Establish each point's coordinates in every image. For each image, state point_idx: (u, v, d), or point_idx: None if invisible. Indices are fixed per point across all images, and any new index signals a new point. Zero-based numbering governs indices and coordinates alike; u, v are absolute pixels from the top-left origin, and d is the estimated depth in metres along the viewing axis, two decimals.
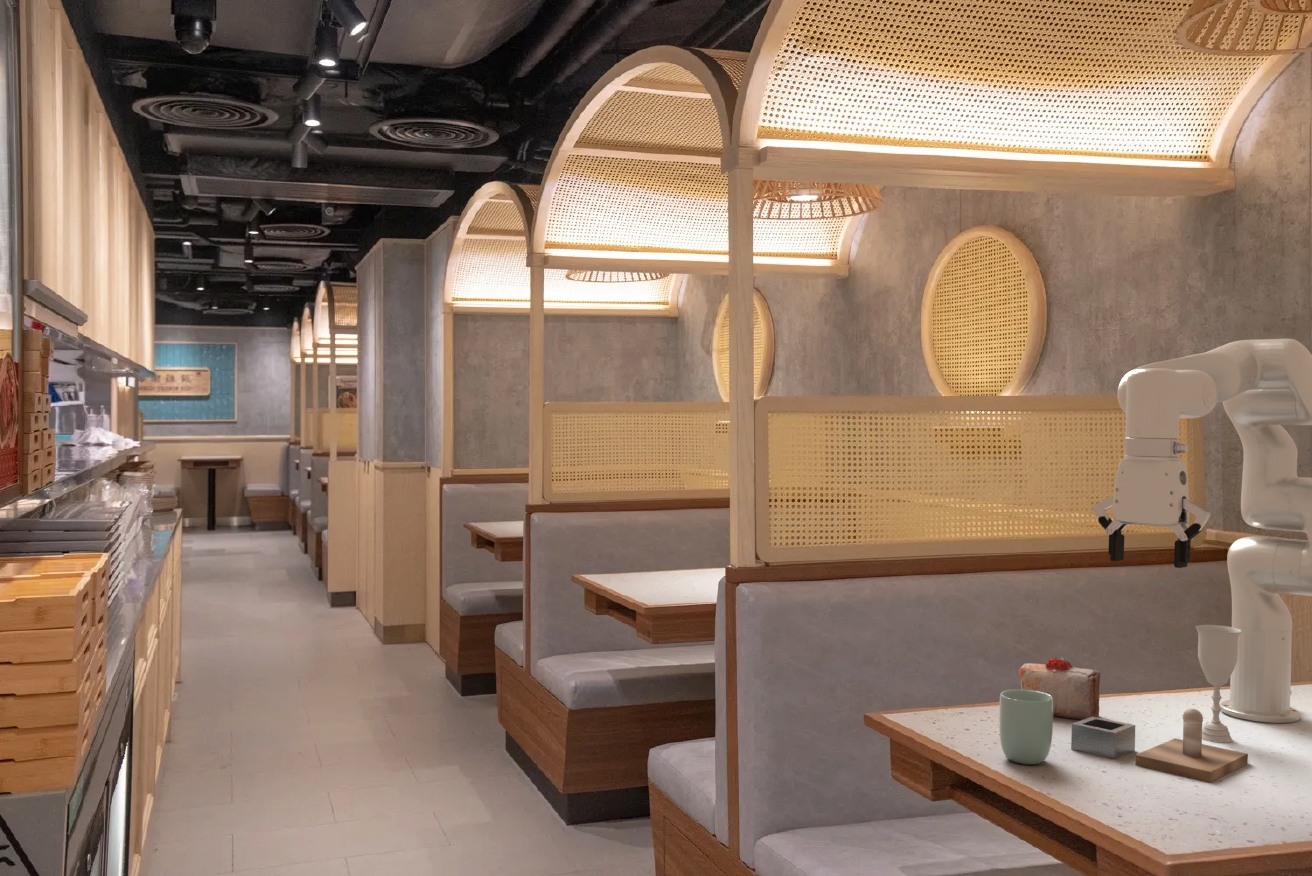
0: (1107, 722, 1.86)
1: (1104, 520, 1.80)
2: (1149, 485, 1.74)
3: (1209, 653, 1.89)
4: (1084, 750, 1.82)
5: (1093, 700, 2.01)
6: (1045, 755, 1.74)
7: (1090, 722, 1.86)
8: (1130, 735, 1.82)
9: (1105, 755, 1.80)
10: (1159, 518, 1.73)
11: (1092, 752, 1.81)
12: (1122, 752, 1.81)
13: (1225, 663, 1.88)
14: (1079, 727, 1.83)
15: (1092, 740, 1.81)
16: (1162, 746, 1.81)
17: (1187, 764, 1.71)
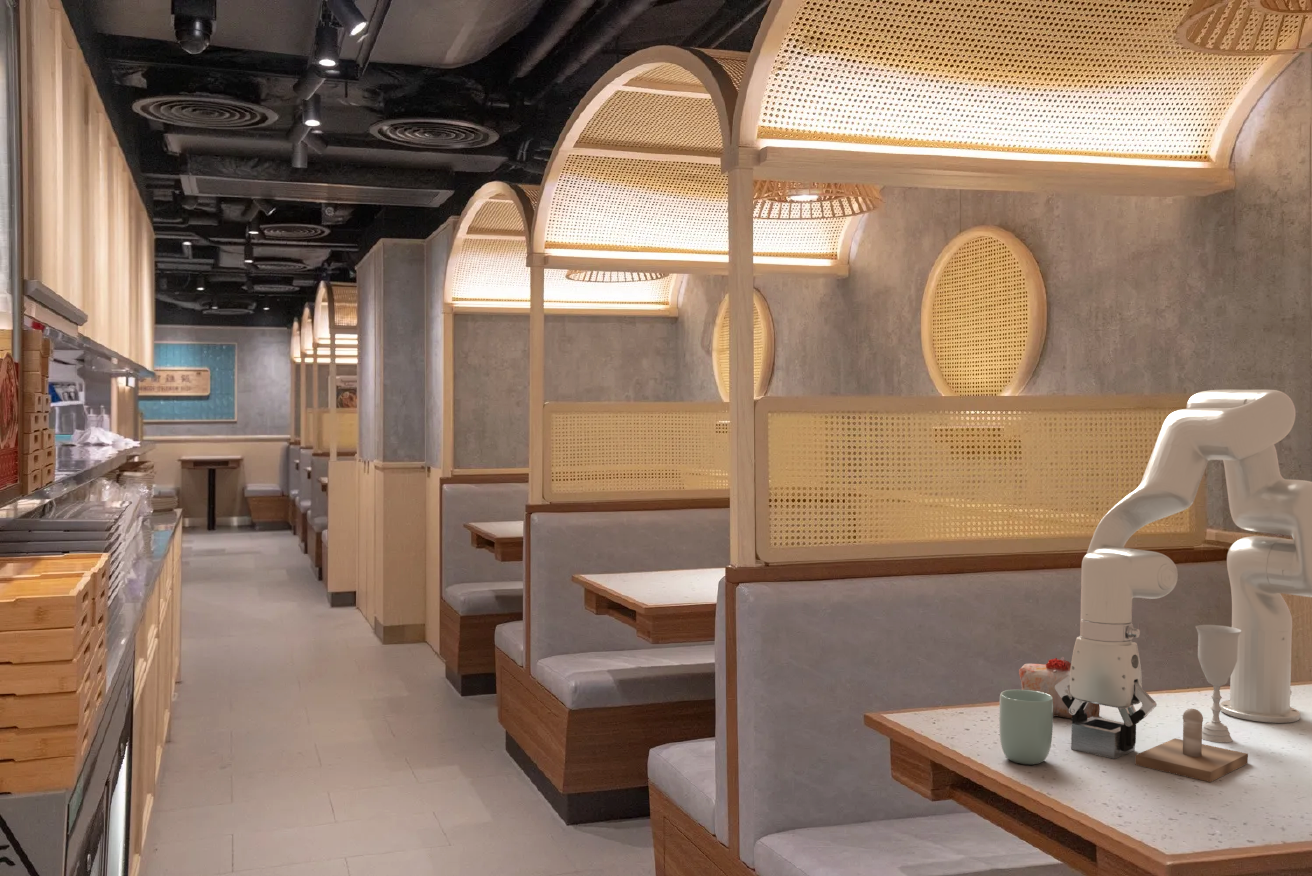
0: (1107, 722, 1.86)
1: (1067, 700, 1.87)
2: (1103, 667, 1.81)
3: (1209, 653, 1.89)
4: (1084, 750, 1.82)
5: None
6: (1045, 755, 1.74)
7: (1090, 722, 1.86)
8: None
9: (1105, 755, 1.80)
10: (1112, 700, 1.80)
11: (1092, 752, 1.81)
12: (1122, 752, 1.81)
13: (1225, 663, 1.88)
14: (1079, 727, 1.83)
15: (1092, 740, 1.81)
16: (1162, 746, 1.81)
17: (1187, 764, 1.71)
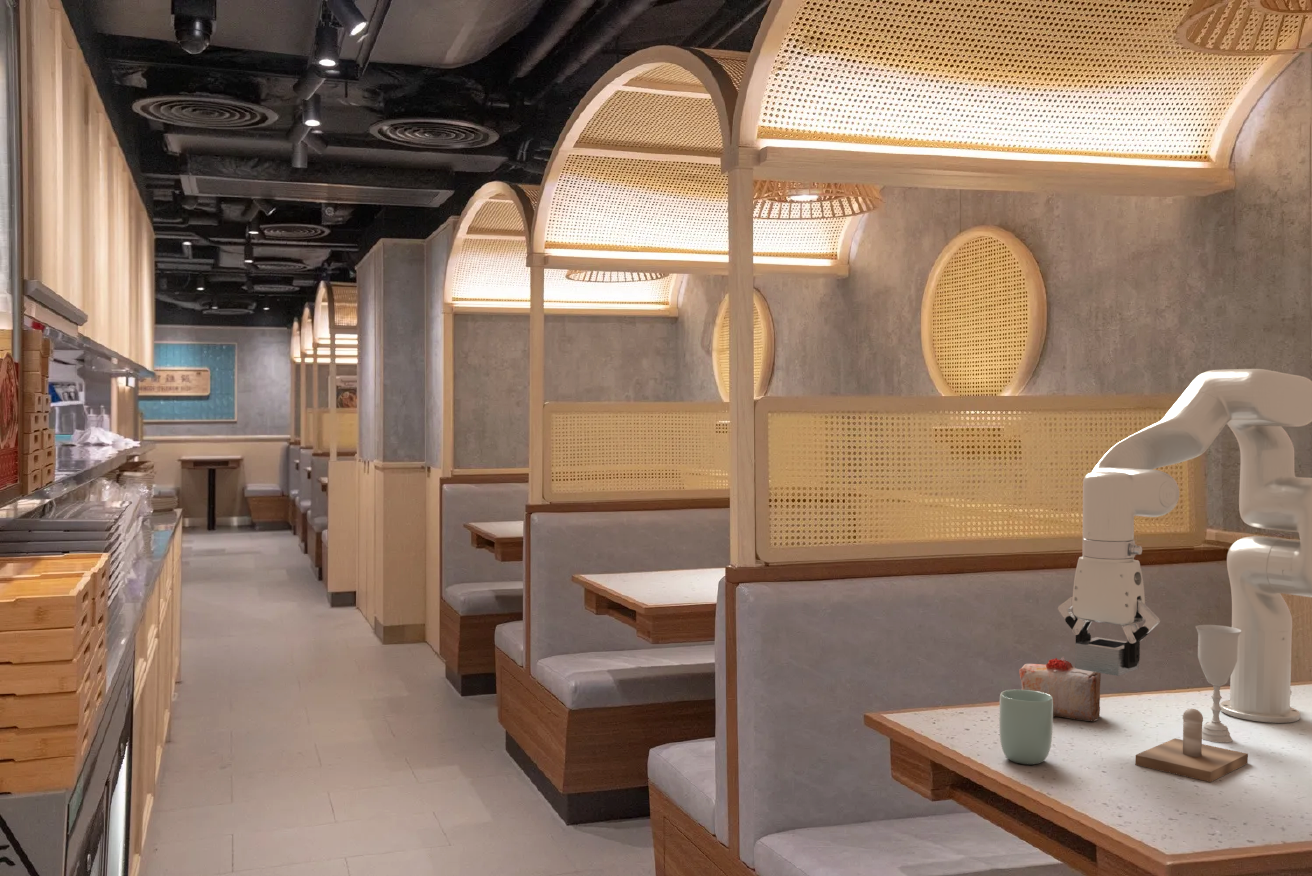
0: (1111, 641, 1.86)
1: (1071, 620, 1.87)
2: (1105, 585, 1.81)
3: (1209, 653, 1.89)
4: (1088, 669, 1.82)
5: (1094, 700, 2.00)
6: (1045, 755, 1.74)
7: (1094, 642, 1.86)
8: None
9: (1109, 673, 1.80)
10: (1115, 617, 1.80)
11: (1096, 670, 1.81)
12: (1126, 669, 1.81)
13: (1225, 663, 1.88)
14: (1083, 646, 1.83)
15: (1096, 658, 1.81)
16: (1162, 746, 1.81)
17: (1187, 764, 1.71)
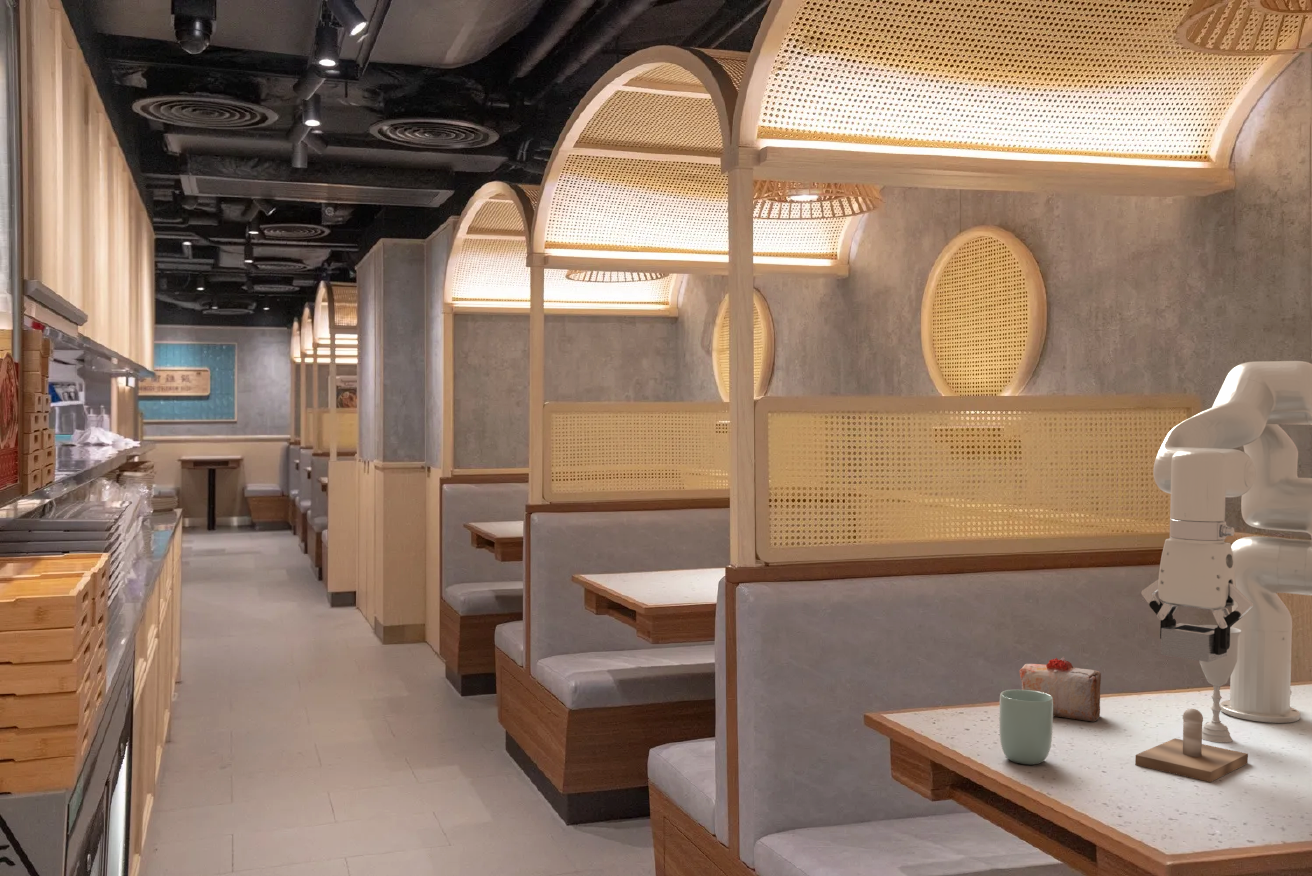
0: (1197, 627, 1.78)
1: (1155, 605, 1.80)
2: (1195, 568, 1.74)
3: None
4: (1175, 655, 1.75)
5: (1094, 700, 2.00)
6: (1045, 755, 1.74)
7: (1179, 627, 1.78)
8: None
9: (1198, 658, 1.72)
10: (1205, 601, 1.73)
11: (1184, 656, 1.74)
12: (1216, 656, 1.73)
13: (1225, 663, 1.88)
14: (1169, 631, 1.75)
15: (1184, 644, 1.74)
16: (1162, 746, 1.81)
17: (1187, 764, 1.71)
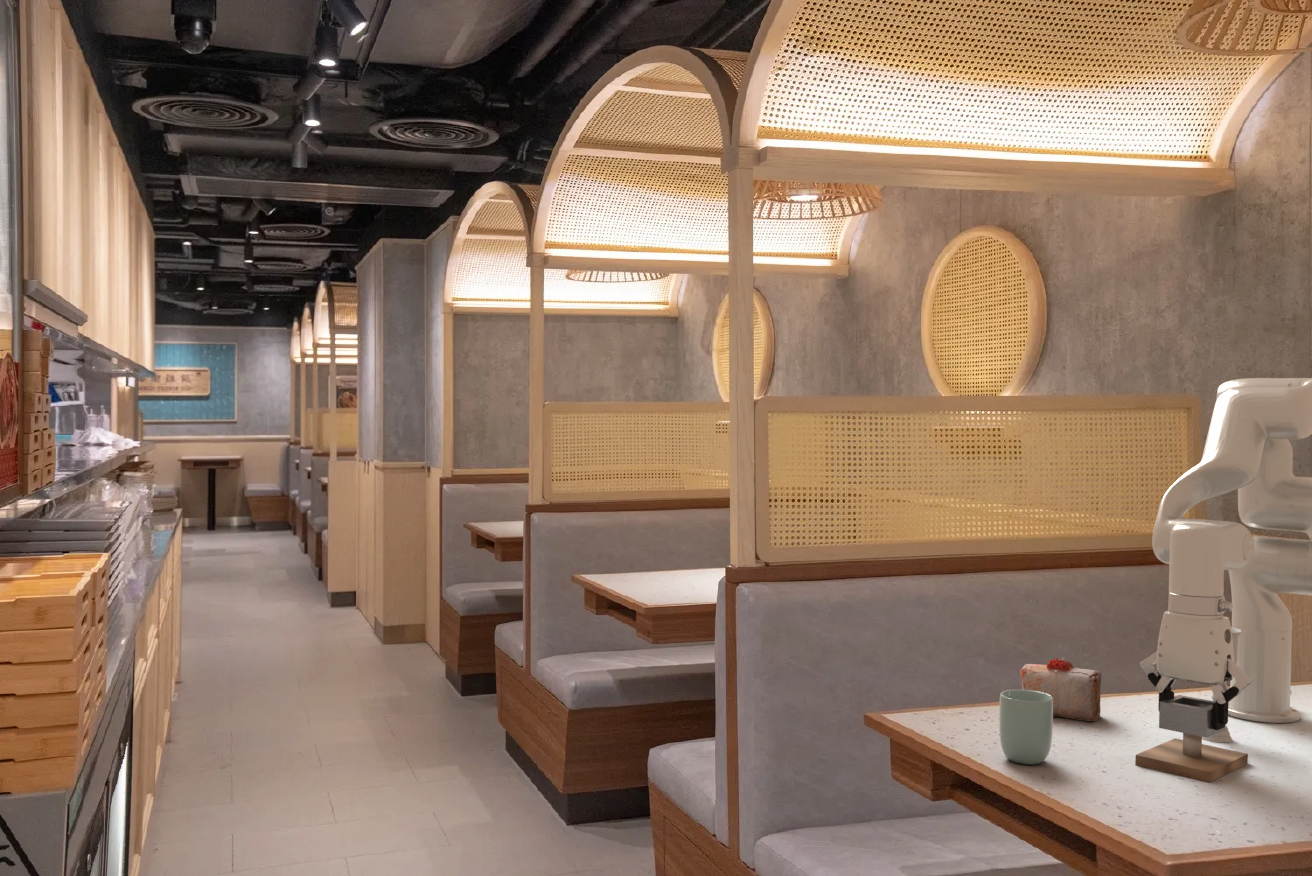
0: (1195, 700, 1.78)
1: (1154, 677, 1.80)
2: (1193, 643, 1.74)
3: None
4: (1173, 729, 1.75)
5: (1095, 700, 2.00)
6: (1045, 755, 1.74)
7: (1178, 700, 1.78)
8: None
9: (1196, 734, 1.72)
10: (1204, 676, 1.73)
11: (1182, 731, 1.74)
12: (1214, 731, 1.73)
13: None
14: (1168, 705, 1.75)
15: (1182, 718, 1.74)
16: (1162, 746, 1.81)
17: (1187, 764, 1.71)
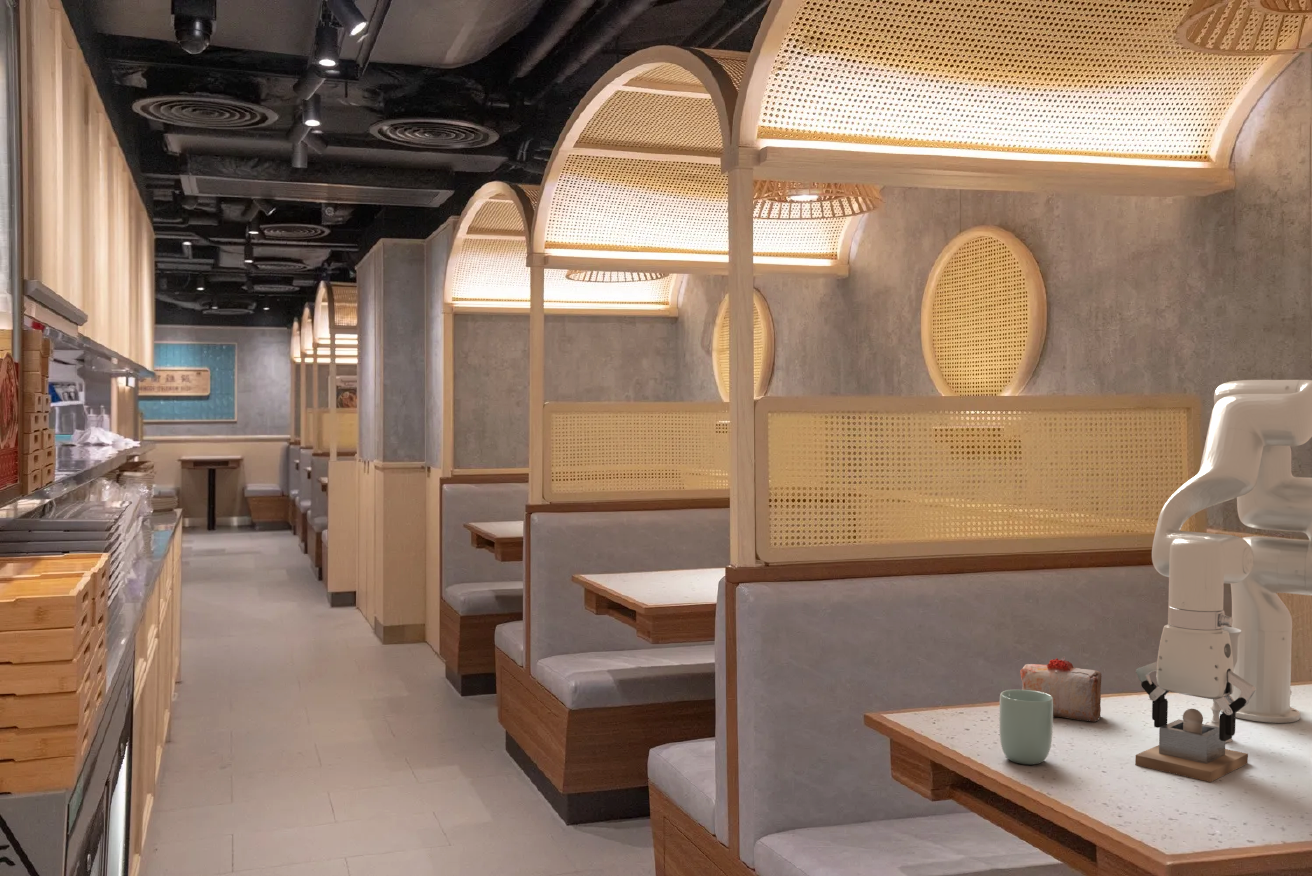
0: None
1: (1147, 685, 1.81)
2: (1193, 657, 1.74)
3: None
4: (1173, 755, 1.75)
5: (1095, 701, 2.00)
6: (1045, 755, 1.74)
7: (1177, 725, 1.79)
8: None
9: (1196, 760, 1.73)
10: (1203, 691, 1.73)
11: (1182, 757, 1.74)
12: (1214, 756, 1.74)
13: None
14: (1168, 731, 1.76)
15: (1182, 744, 1.74)
16: None
17: (1187, 764, 1.71)
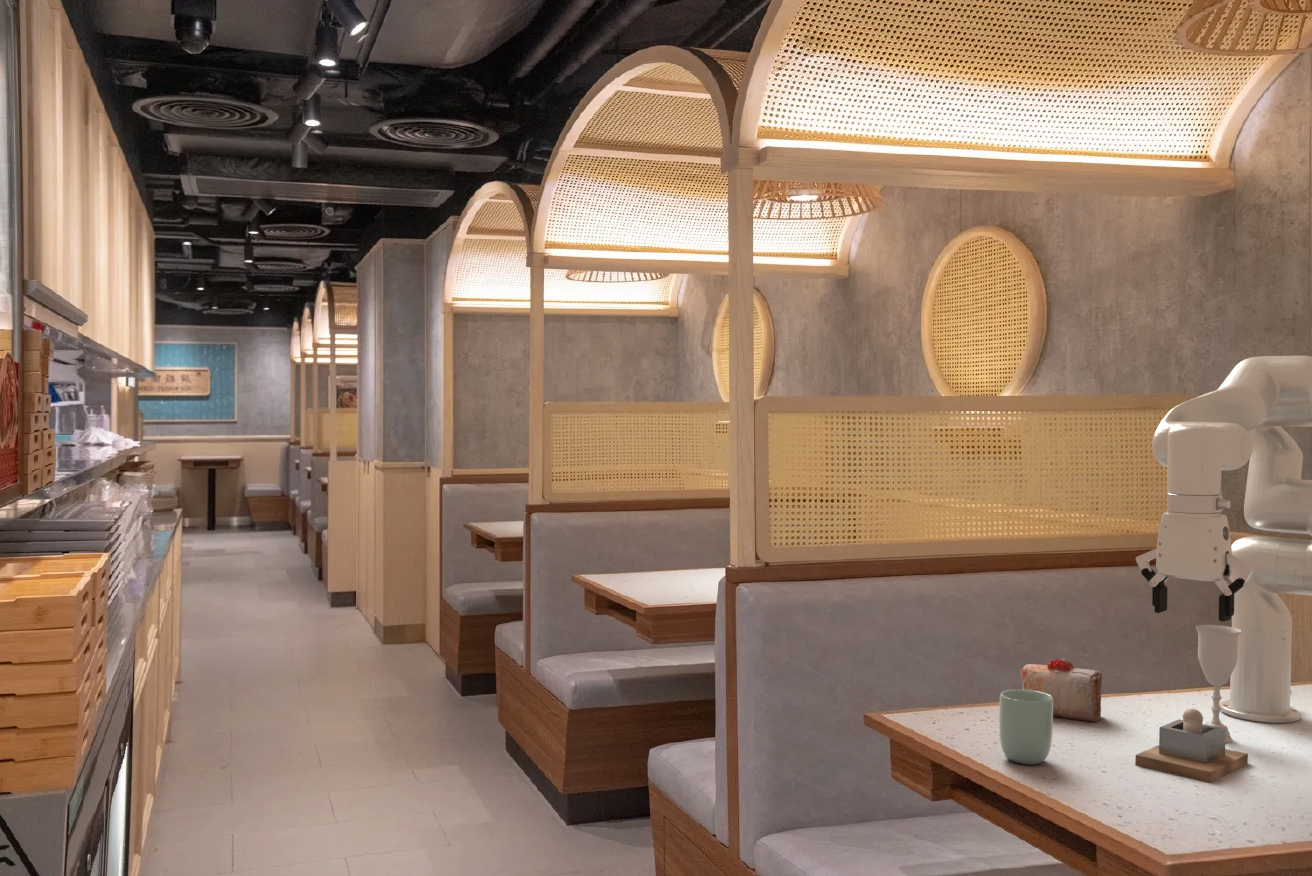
0: None
1: (1147, 572, 1.84)
2: (1192, 541, 1.77)
3: (1209, 653, 1.89)
4: (1173, 755, 1.75)
5: (1096, 701, 2.00)
6: (1045, 755, 1.74)
7: (1177, 725, 1.79)
8: (1221, 738, 1.75)
9: (1196, 760, 1.73)
10: (1203, 573, 1.76)
11: (1182, 757, 1.74)
12: (1214, 756, 1.74)
13: (1225, 663, 1.88)
14: (1168, 731, 1.76)
15: (1182, 744, 1.74)
16: None
17: (1187, 764, 1.71)
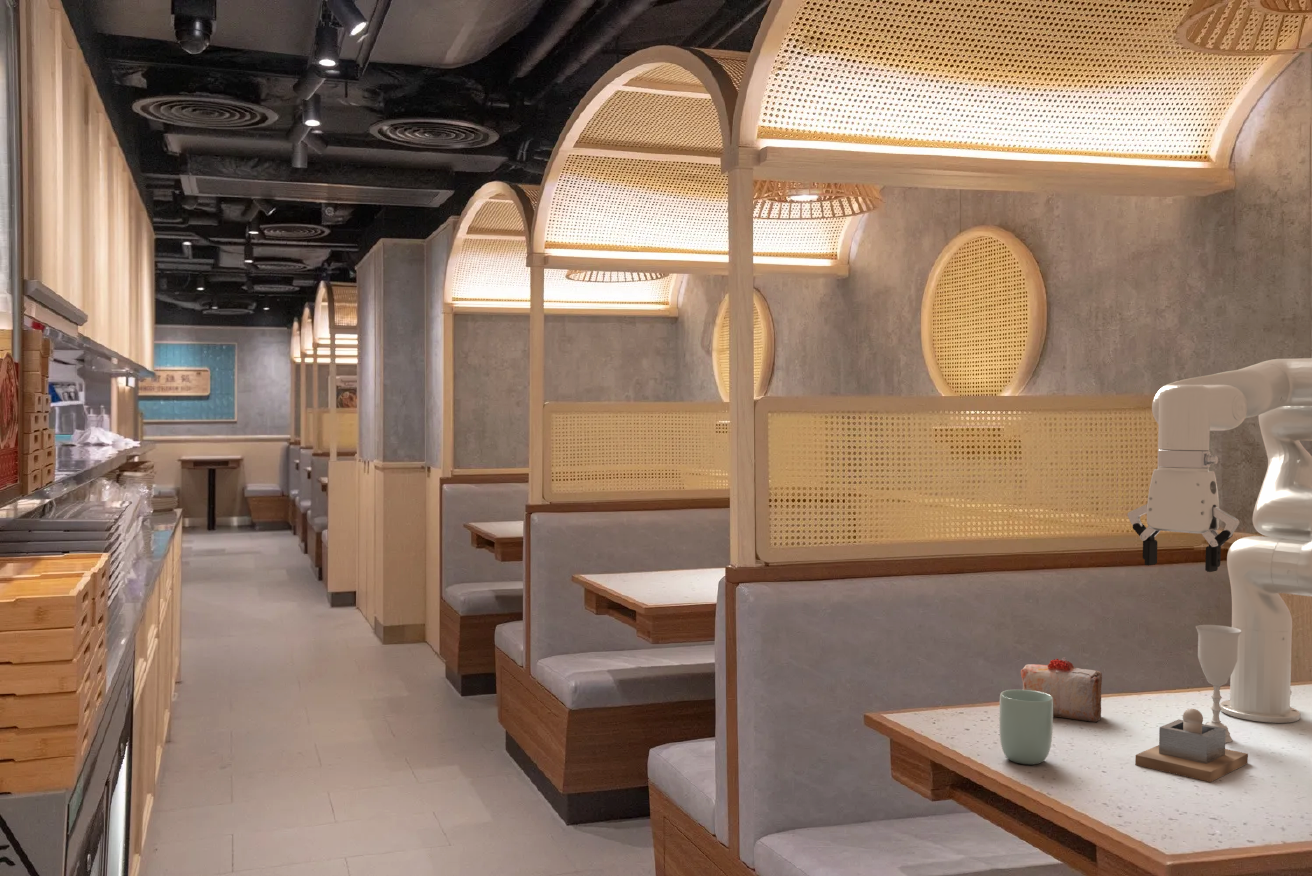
0: None
1: (1138, 527, 1.92)
2: (1181, 495, 1.85)
3: (1209, 653, 1.89)
4: (1173, 755, 1.75)
5: (1096, 701, 2.00)
6: (1045, 755, 1.74)
7: (1177, 725, 1.79)
8: (1221, 738, 1.75)
9: (1196, 760, 1.73)
10: (1191, 525, 1.84)
11: (1182, 757, 1.74)
12: (1214, 756, 1.74)
13: (1225, 663, 1.88)
14: (1168, 731, 1.76)
15: (1182, 744, 1.74)
16: None
17: (1187, 764, 1.71)
